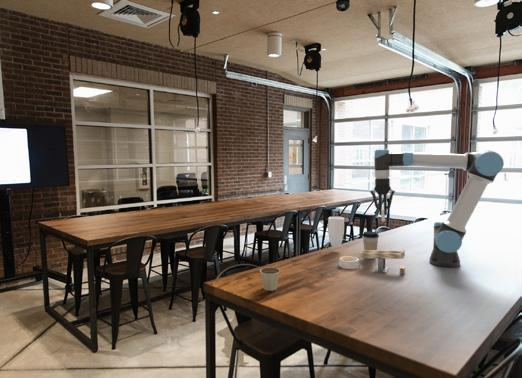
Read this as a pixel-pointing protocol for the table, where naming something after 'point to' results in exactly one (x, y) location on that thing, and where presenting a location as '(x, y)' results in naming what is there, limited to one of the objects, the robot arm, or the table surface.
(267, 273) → the flower pot
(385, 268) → the fulcrum
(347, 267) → the bowl
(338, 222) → the cup
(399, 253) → the lever
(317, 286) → the table surface
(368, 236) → the coffee cup
